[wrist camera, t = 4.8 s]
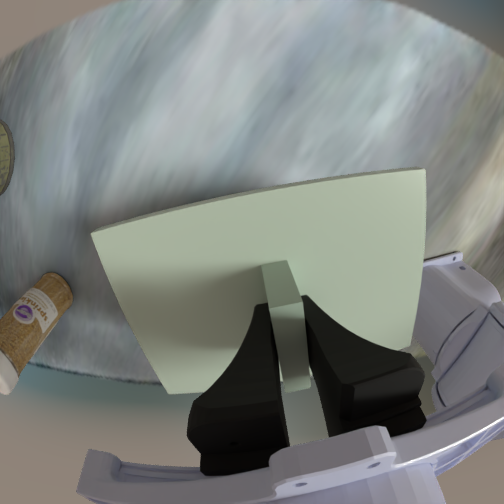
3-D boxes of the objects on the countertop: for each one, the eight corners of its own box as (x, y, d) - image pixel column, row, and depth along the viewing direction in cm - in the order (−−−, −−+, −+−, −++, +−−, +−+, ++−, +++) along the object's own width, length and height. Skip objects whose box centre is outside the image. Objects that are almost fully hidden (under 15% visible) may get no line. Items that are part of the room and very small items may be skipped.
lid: (408, 164, 13) (472, 183, 8) (400, 331, 17) (433, 380, 13) (104, 223, 13) (52, 264, 8) (172, 377, 18) (160, 436, 13)
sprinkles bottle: (72, 277, 23) (-3, 369, 11) (75, 313, 25) (16, 405, 12) (39, 265, 22) (-39, 343, 10) (44, 301, 24) (-20, 381, 12)
